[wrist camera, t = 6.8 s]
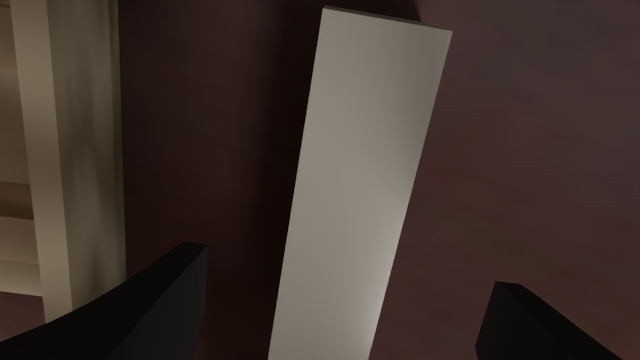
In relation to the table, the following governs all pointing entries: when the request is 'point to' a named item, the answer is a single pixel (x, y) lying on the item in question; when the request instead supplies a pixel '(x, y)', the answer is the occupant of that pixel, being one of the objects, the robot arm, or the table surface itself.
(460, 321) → the table surface
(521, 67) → the table surface
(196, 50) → the table surface
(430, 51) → the grayish beige rectangular block
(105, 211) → the wooden compartment tray
